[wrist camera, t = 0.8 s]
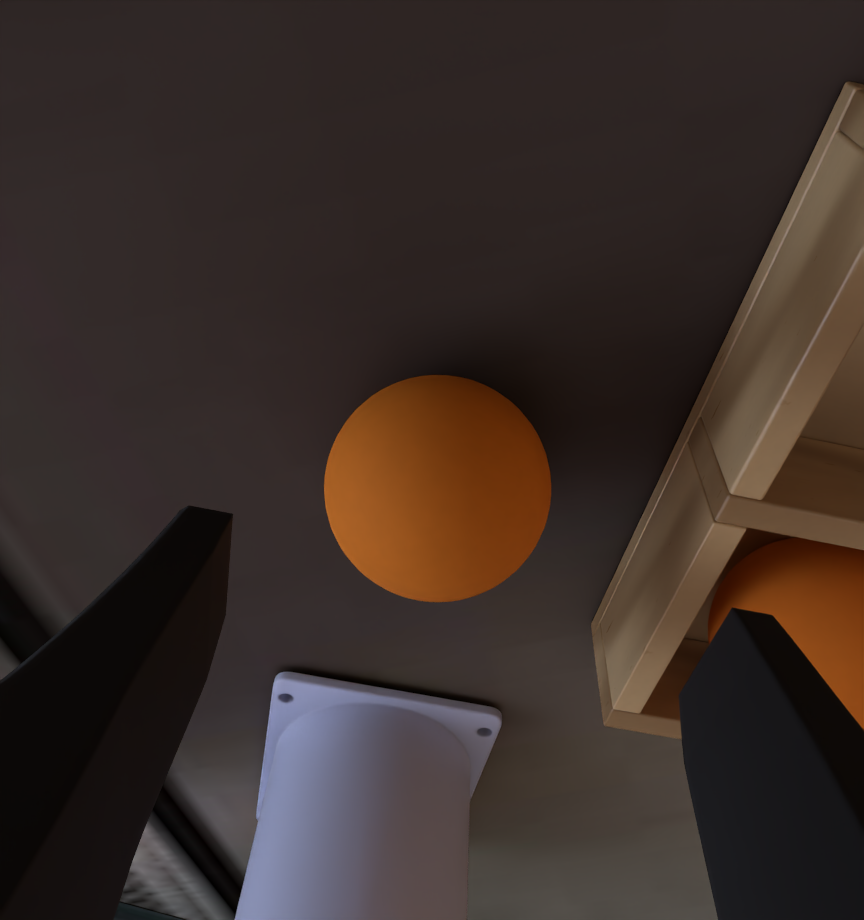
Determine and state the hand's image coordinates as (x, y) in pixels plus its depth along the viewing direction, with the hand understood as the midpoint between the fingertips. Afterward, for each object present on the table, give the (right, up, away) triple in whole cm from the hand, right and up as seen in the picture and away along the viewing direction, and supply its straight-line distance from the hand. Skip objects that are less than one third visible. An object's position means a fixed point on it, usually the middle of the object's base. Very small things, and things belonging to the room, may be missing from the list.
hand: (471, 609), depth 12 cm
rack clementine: (+9, -2, +10) cm, 14 cm away
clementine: (0, +1, +8) cm, 8 cm away
